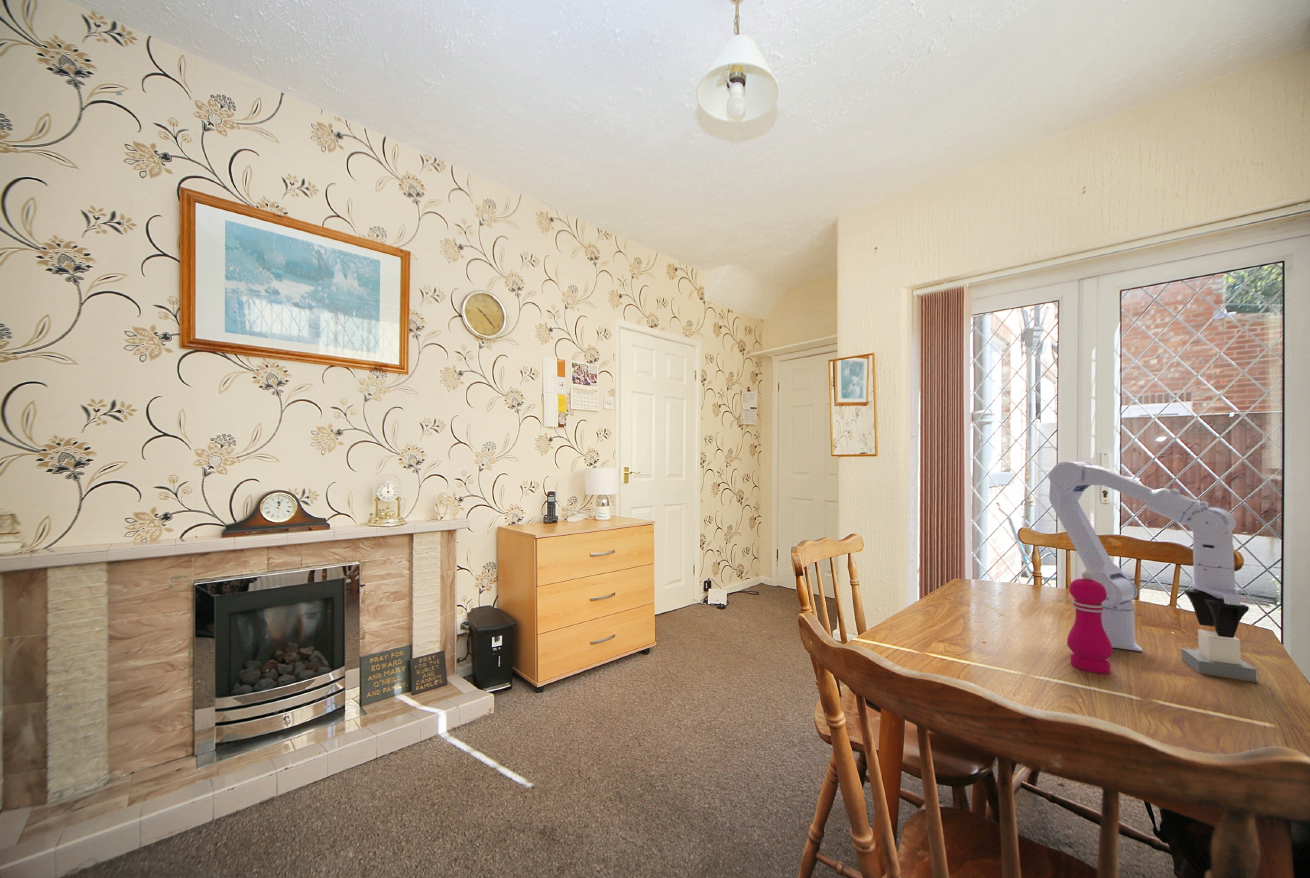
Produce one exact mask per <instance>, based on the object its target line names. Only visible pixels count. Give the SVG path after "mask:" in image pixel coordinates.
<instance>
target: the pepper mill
mask: <svg viewBox="0 0 1310 878" xmlns="http://www.w3.org/2000/svg"><path fill="white" fill-rule="evenodd" d="M1092 578H1093V576H1092V574H1091V573H1089V572H1085V571H1084V572H1082V573H1081V578H1077V579H1074V580H1073V581H1071V583H1070V584H1069V589H1068V590H1069V595H1071V596H1072V598H1073V600H1072V603H1073V605H1072V607H1073V608H1074V610H1075V620H1074V623H1073V625H1072V627H1071V629H1070V631H1069V632H1068V635H1067V642H1066V643H1067V646H1068V649H1069V650H1070V651H1071V652H1072V653H1071V654H1070V664H1071V665H1072V666H1073V667H1075V668H1077V669H1079V670H1083V671H1086V672H1090V673H1095V674H1108V673H1110V672H1111V663H1110V661H1108V660H1107V659H1109V658H1110V657H1111V656H1113V653H1114V651H1113V647H1112V645H1111V642H1110V640H1109V638H1108V636H1107V635H1106V633H1105V631H1104V628H1103V626H1102V620H1101V614H1102V612H1104V609H1103V607H1104V605H1103V604H1101V603H1102V602H1103V601H1104V600H1105V599H1106V597H1107V593H1106V589H1105V587H1104V586H1103V585H1102V584H1100V583H1099V582H1097V581H1094V580H1091V579H1092Z"/></svg>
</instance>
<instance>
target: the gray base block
mask: <svg viewBox="0 0 1310 878" xmlns="http://www.w3.org/2000/svg"><path fill="white" fill-rule="evenodd" d="M1181 660H1182V661H1183V662H1185V664H1187V665H1188V666H1189V667H1191V668H1192V669H1193V670H1195V671H1196V673H1198V674H1202V675H1207V676H1215V677H1219V678H1220V677H1221V678H1227V679H1234V680H1241V681H1245V682H1246V681H1247V682H1254V683H1257V669H1256V668H1255V667H1253V666H1252V665H1250V664H1248V663H1247V662H1245V661H1244V660H1242V659H1241V665H1238V664H1231V663H1223V662H1216V661H1209V660H1208V659H1207V658H1205V657H1204V656H1202V655H1201V654H1200V653H1199V649H1193V648H1186V647H1185V648H1183V647H1182V648H1181Z"/></svg>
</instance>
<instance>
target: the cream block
mask: <svg viewBox="0 0 1310 878" xmlns="http://www.w3.org/2000/svg"><path fill="white" fill-rule="evenodd" d="M1197 638H1198V639H1197V640H1198V641H1197V642H1198V650H1199V653H1200V654H1201V655H1202V656H1204V657H1205V658H1207V659H1208V660H1209V661H1216V662H1223V663H1231V664H1238V665H1241V660H1242V655H1241V640H1240V638H1238V637H1237V636H1234V638H1228V637H1220V636H1218V635H1217V633H1216V630H1207V629H1198V628H1197Z"/></svg>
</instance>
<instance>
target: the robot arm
mask: <svg viewBox="0 0 1310 878" xmlns="http://www.w3.org/2000/svg"><path fill="white" fill-rule="evenodd" d="M1047 477H1048V480H1049V481H1050V482H1049V483H1050V484H1049V496H1048V500H1049V502H1050V504H1051V506H1052V509H1053V510H1054V512H1055V513H1056V516H1057V517H1058V519H1059V521H1060V523H1061V525H1062V527H1063V528H1064V530H1065V532H1066V534H1067V536H1068V538H1069V540H1070V541H1071V543H1072V545H1073V547H1074V549H1075V551H1076V552H1077V554H1078V556H1079V558H1080V560H1081V561H1082V563H1083V566H1084V567H1085V571H1084V572H1089V573H1091V574H1092V576H1093V578H1092V579H1091V580H1094V581H1097V582H1099V583H1100V584H1102V585H1103V586H1104V587H1105V589H1106V593H1107V597H1106V599H1105V600H1104V601H1103V602H1102V603H1101V604H1103V605H1104V607H1103V609H1104V612H1102V614H1101V620H1102V626H1103V628H1104V631H1105V633H1106V635H1107V636H1108V638H1109V640H1110V642H1111V645H1112V649H1113V648H1115V649H1121V650H1129V651H1134V652H1135V651H1137V652H1143V651H1144V650H1143V648H1142V647H1140V646H1139V645H1138V644H1137V643H1136V633H1135V632H1136V631H1135V629H1136V627H1135V606H1134V605H1133V603H1132V601H1133V600H1135V598H1137V596H1138V589H1137V588H1138V587H1137V585H1136V584H1135V583H1134V581H1132V580H1131V579H1130V578H1128V576H1126V575H1125V573H1124V572H1123V570H1122V569H1121V568H1120V567H1119V566H1117V564H1115V563H1114V562H1113V561H1112V559H1111V557H1110V556H1109V553H1107V551H1106V549H1105V547H1104V545H1103V543H1102V542H1101V540H1100V538H1099V537H1098V534H1097V533H1096V531H1095V529H1094V528H1093V525H1092V524H1091V523H1090V520H1089V519H1088V516H1087V515H1086V514H1085V511H1084V509H1083V508H1082V506H1081V505H1080V502H1079V500H1080V498H1081V497H1082V495H1083V493H1084V492H1085V490H1087V489H1088V488H1089V487H1091V486H1104V487H1107V488H1110V489H1112V490H1114V491H1117V492H1120V493H1122V494H1125V495H1128V496H1129V497H1132V498H1135V499H1138V500H1140V501H1142V502H1144V503H1145V505H1146V507H1147V509H1148V510H1149V511H1152V512H1153V513H1155V514H1159V515H1160V516H1163V517H1165V518H1167V519H1169V520H1172V521H1173V522H1176V523H1179V524H1181V525H1184V526H1185V525H1186V526H1187V527H1188V528H1189V530H1190V531H1192V539H1193V541H1192V561H1193V564H1192V566H1193V578H1191V580H1190V583H1191V584H1190V585H1191V588H1192V589H1184V590H1183V591H1184V593H1185V595H1186V596H1187V598H1188V600H1189V601H1190V603H1191V605H1192V608H1193V610H1194V613H1195V616H1196V619H1197V622H1198V625H1200V626H1205V627H1207V626H1208V627H1214V631H1216V633H1217V635H1218V636H1220V637H1228V638H1234V637H1236V633H1237V629H1238V627H1239V624H1240V622H1241V620H1242V618H1243V617H1244V615H1245V614H1246V613H1247V612H1249V610H1250V607H1249V606H1248V605H1246V604H1241V603H1242V601H1241V600H1242V599H1241V595H1240V594H1244V589H1243V588H1240V587H1239V588H1238V587H1236V580H1235V579H1236V577H1235V575H1236V574H1235V548H1234V544H1233V533H1232V532H1233V530H1235V528H1236V526H1237V520H1236V517H1235V516H1234V515H1233V514H1232V513H1231V512H1229V511H1228V510H1226V509H1225V508H1224V507H1219V506H1209V505H1210V503H1209V502H1207V501H1204V500H1201V501H1198V500H1195V499H1193V498H1190V497H1188V496H1186V495H1184V494H1181V490H1178V489H1177V488H1170V489H1168V488H1166V487H1164V488H1163V487H1162V488H1158V489H1153V488H1151V487H1149V486H1146V485H1144V484H1143V483H1139V482H1138V481H1135V480H1133V479H1131V478H1128V477H1126V476H1125V475H1122V474H1119V473H1118V472H1115V471H1113V470H1112V469H1108V468H1106V467H1103V466H1101V465H1096V464H1093V463H1091V462H1088V461H1082V460H1081V461H1067V460H1065V461H1060V462H1059V463H1057V464H1055V465H1054V466H1053V468H1052V470H1051V471H1050V473H1049V474H1048V476H1047Z"/></svg>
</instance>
